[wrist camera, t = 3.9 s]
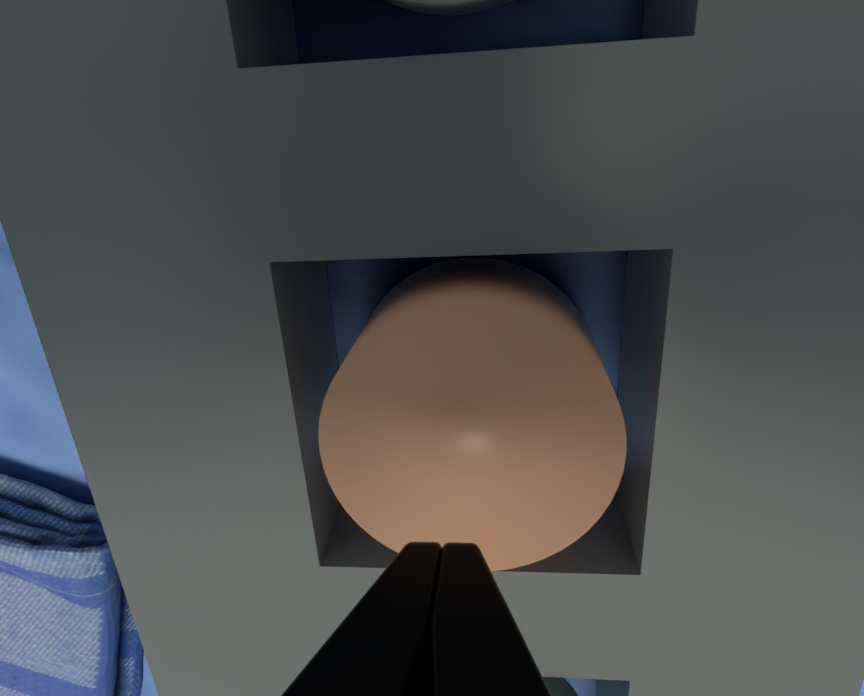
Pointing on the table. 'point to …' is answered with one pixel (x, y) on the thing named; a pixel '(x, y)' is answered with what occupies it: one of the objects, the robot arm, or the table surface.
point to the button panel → (438, 237)
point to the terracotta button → (474, 416)
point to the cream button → (448, 6)
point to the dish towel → (61, 600)
